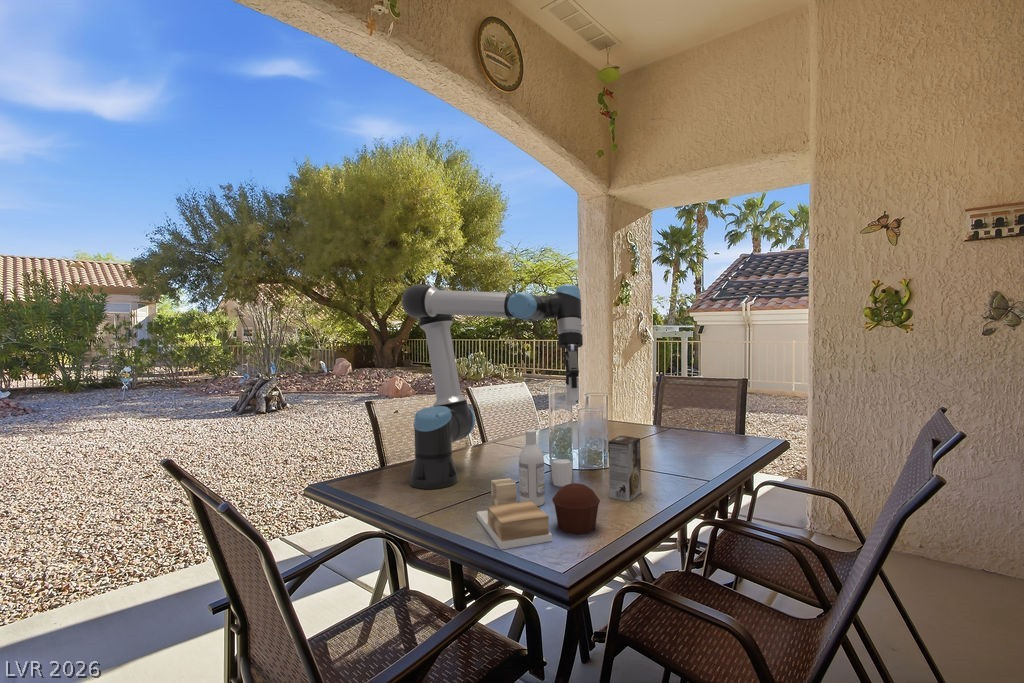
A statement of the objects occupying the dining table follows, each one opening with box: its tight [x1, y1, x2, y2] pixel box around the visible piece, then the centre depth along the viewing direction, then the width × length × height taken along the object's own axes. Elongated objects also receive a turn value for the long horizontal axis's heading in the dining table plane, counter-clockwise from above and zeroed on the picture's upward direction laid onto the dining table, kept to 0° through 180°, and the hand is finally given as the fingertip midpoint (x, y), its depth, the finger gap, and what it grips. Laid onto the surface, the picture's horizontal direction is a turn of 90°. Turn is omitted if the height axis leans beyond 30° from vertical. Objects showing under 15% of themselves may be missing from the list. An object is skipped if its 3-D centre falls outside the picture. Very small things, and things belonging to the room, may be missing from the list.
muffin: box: [551, 482, 601, 536], centre depth 115 cm, size 12×11×10 cm
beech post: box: [490, 477, 518, 506], centre depth 121 cm, size 5×5×8 cm
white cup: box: [550, 458, 574, 488], centre depth 150 cm, size 7×7×7 cm
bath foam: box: [518, 429, 546, 507], centre depth 133 cm, size 7×7×20 cm
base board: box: [476, 509, 553, 550], centre depth 115 cm, size 20×12×2 cm, turn 19°
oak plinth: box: [487, 501, 550, 541], centre depth 111 cm, size 11×11×4 cm
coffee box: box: [607, 435, 642, 502], centre depth 138 cm, size 9×6×16 cm
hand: (572, 403), depth 143 cm, fingers open, 13 cm apart
